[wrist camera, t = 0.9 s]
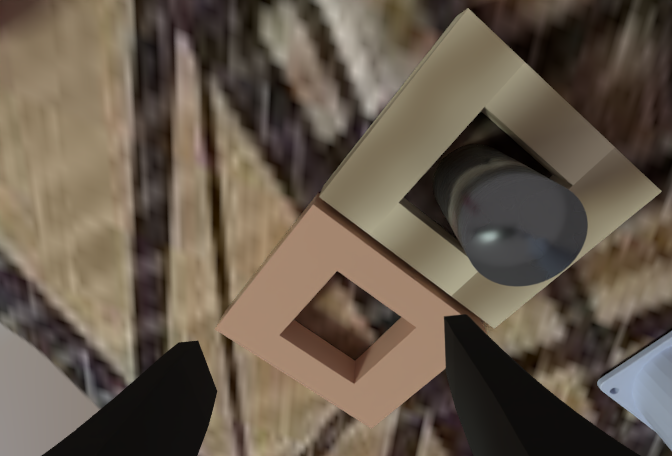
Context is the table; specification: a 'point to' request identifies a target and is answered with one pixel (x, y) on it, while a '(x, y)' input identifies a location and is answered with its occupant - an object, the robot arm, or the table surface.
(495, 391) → the robot arm
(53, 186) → the table surface
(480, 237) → the pin
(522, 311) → the table surface
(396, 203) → the pin mount
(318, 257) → the socket block
